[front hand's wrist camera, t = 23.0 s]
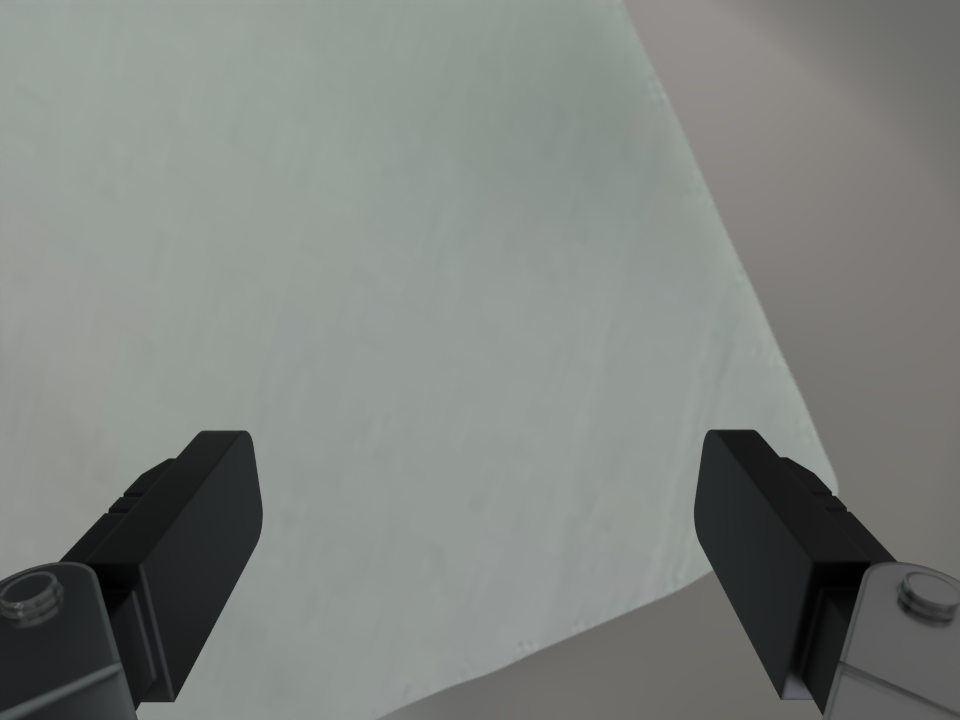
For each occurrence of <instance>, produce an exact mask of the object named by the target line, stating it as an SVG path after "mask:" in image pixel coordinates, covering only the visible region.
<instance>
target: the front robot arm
mask: <svg viewBox="0 0 960 720" xmlns="http://www.w3.org/2000/svg"><path fill="white" fill-rule="evenodd" d="M262 520H263V509H262V501H261V494H260V487H259V480H258V473H257V467H256V460H255V453H254V446H253V441H252V438H251V436H250V434H249V433H248V432H247V431H201V432H200V433H198V434H197V436H196V437H195V438H194V439H193V440H192V441H191V442H190V443H189V444H188V446H187V447H186V448H185V449H184V450H183V451H182V452H181V453H180V455H179V456H178V457H177V458H169V459H167V460H165V461H164V462H162V463H160V464H159V465H157V466H155V467H154V468H152V469H150V470H148V471H147V472H145V473H143V474H142V475H141V476H140V477H139V478H138V479H137V480H136V481H135V482H134V483H133V484H132V485H131V486H130V487H129V488H128V489H127V490H126V491H125V492H124V496H123V497H120V498H119V499H118V500H117V501H116V502H115V503H114V504H113V505H112V506H111V507H110V508H109V512H108V513H105V514H104V515H103V516H102V517H101V518H100V519H99V520H98V521H97V522H96V523H95V524H94V525H93V526H92V527H91V528H90V529H89V530H88V531H87V533H86V534H85V535H84V536H83V537H82V538H81V539H80V540H79V541H78V542H77V543H76V544H75V545H74V546H73V547H72V548H71V549H70V550H69V551H68V553H67V554H66V555H65V556H64V557H63V558H62V559H61V560H60V561H59V562H55V563H48V564H44V565H39V566H36V567H32V568H29V569H26V570H23V571H21V572H18V573H16V574H14V575H11V576H9V577H7V578H5V579H3V580H1V581H0V720H138V719H137V715H136V710H137V708H138V706H139V705H140V703H141V702H175V700H176V698H177V696H178V694H179V692H180V690H181V688H182V686H183V684H184V682H185V681H186V679H187V677H188V675H189V673H190V671H191V669H192V667H193V665H194V663H195V661H196V660H197V658H198V656H199V654H200V652H201V650H202V648H203V646H204V644H205V642H206V640H207V638H208V637H209V635H210V633H211V631H212V629H213V627H214V625H215V623H216V621H217V619H218V617H219V616H220V614H221V612H222V610H223V608H224V606H225V604H226V602H227V600H228V598H229V596H230V595H231V593H232V591H233V589H234V587H235V585H236V583H237V581H238V579H239V577H240V575H241V574H242V572H243V570H244V568H245V566H246V564H247V562H248V560H249V558H250V556H251V554H252V553H253V551H254V549H255V547H256V545H257V543H258V540H259V537H260V533H261V528H262ZM694 522H695V529H696V533H697V537H698V540H699V542H700V544H701V546H702V548H703V550H704V552H705V554H706V556H707V558H708V560H709V562H710V564H711V566H712V568H713V569H714V571H715V573H716V575H717V577H718V579H719V581H720V583H721V585H722V587H723V589H724V591H725V593H726V595H727V596H728V598H729V600H730V602H731V604H732V606H733V608H734V610H735V612H736V614H737V616H738V618H739V620H740V622H741V624H742V625H743V627H744V629H745V631H746V633H747V635H748V637H749V639H750V641H751V643H752V645H753V647H754V649H755V651H756V653H757V654H758V656H759V658H760V660H761V662H762V664H763V666H764V668H765V670H766V672H767V674H768V676H769V678H770V680H771V682H772V684H773V685H774V687H775V689H776V691H777V693H778V695H779V697H780V699H781V700H814V701H815V703H816V704H817V706H818V708H819V710H820V712H821V713H822V715H823V719H822V720H960V581H959V580H957V579H955V578H953V577H951V576H949V575H946V574H944V573H942V572H939V571H936V570H934V569H931V568H928V567H924V566H921V565H916V564H911V563H905V562H897V561H896V560H895V559H894V558H893V556H892V555H891V554H890V553H889V552H888V551H887V550H886V549H885V548H884V547H883V546H882V545H881V544H880V543H879V542H878V541H877V539H876V538H875V537H874V536H873V535H872V534H871V533H870V532H869V531H868V530H867V529H866V528H865V527H864V526H863V525H862V524H861V522H860V521H859V520H858V519H857V518H856V517H855V516H854V515H853V514H852V513H851V512H847V508H846V506H845V505H844V504H843V503H842V502H841V501H840V500H839V499H838V498H837V497H836V496H832V492H831V491H830V489H829V488H828V487H827V486H826V485H825V484H824V483H823V482H822V481H821V480H820V479H819V478H818V477H817V476H816V475H815V474H814V473H813V472H811V471H809V470H808V469H806V468H804V467H803V466H801V465H799V464H798V463H796V462H794V461H793V460H791V459H789V458H787V457H779V456H778V455H777V454H776V452H775V451H774V450H773V449H772V448H771V447H770V446H769V444H768V443H767V442H766V441H765V440H764V439H763V438H762V437H761V435H760V434H759V433H758V432H757V431H755V430H709V431H708V432H707V434H706V436H705V439H704V443H703V449H702V456H701V463H700V470H699V477H698V484H697V491H696V498H695V505H694Z"/></svg>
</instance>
